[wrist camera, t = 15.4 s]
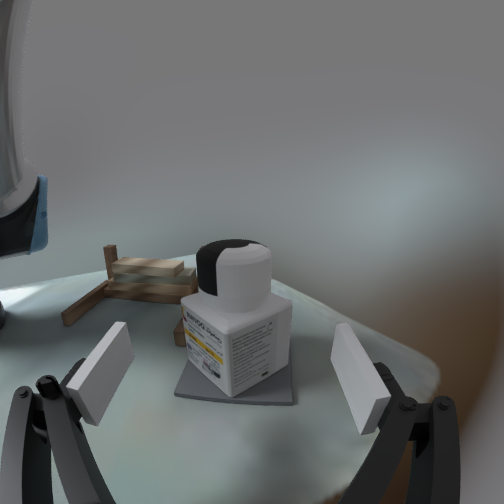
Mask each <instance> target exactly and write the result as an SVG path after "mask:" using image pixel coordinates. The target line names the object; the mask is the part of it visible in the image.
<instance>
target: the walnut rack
mask: <svg viewBox="0 0 504 504" xmlns="http://www.w3.org/2000/svg"><path fill="white" fill-rule="evenodd" d="M202 247H204V246H202ZM202 247H201V248H202ZM201 248H200V249H201ZM104 255H105V262H106V268H107V274H108V280H110V279H111V278H113V273H114V272H113V271H112V265H111V263H113V262H115V261H117V260H118V258H117V250H116V245H107V246H105V247H104ZM108 280H106V281H104V282H103V283H102V284H100V285H99V286H97V287H96V288H94V289H93V290H92V291H90V292H89V293H87V294H86V295H85V296H83V297H82V298H81V299H79V300H78V301H77V302H75V303H74V304H72V305H71V306H70V307H68V308H67V309H66V310H64V311H63V312H62V313H61V316H62V319H63V322H64V325H66V326H70V325H72V324H73V323H74V322H75V321H76V320H78V319H79V318H80V317H81V316H82V315H84V314H85V313H86V312H87V311H88V310H90V309H91V308H92V307H93V306H94V305H96V304H97V303H98V302H99V301H101V300H102V299H103V298H104V297H110V298H119V299H128V300H137V301H148V302H159V303H171V304H181V299H182V298H183V297H185V296H189V295H174V294H160V293H147V292H135V291H124V290H114V289H109V286H108ZM196 293H199V289H198V286H197V287H196V289H195V290H194V292H193V293H192V294H196ZM174 338H175V344H176V345H178V346H185V345H186V338H185V331H184V324H183V317H182V319H181V320H180V322H179V323H178V325H177V327H176V328H175V330H174Z"/></svg>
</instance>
